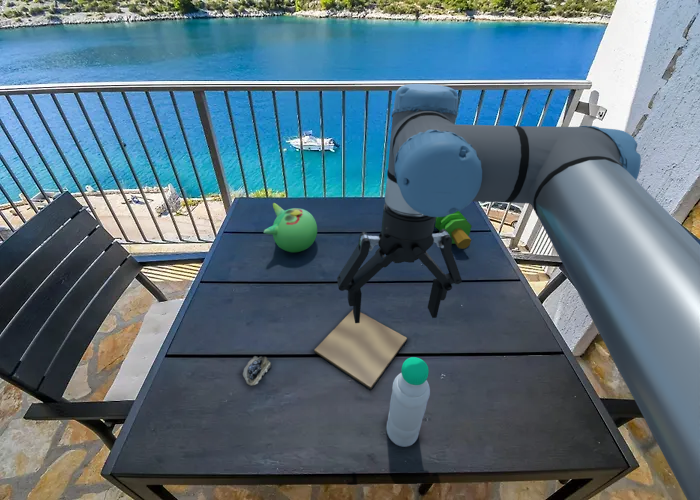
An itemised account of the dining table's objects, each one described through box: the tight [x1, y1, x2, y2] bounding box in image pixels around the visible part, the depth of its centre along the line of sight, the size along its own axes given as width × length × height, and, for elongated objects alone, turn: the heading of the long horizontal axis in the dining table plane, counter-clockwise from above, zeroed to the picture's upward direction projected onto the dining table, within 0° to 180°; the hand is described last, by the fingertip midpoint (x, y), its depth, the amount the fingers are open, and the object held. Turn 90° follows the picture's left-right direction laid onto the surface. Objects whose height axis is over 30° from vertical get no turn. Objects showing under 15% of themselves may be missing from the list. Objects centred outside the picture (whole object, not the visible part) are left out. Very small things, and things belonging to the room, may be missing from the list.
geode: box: [242, 355, 272, 387], centre depth 88 cm, size 7×8×2 cm
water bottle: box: [386, 356, 431, 448], centre depth 69 cm, size 7×7×25 cm
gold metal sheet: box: [313, 309, 408, 390], centre depth 94 cm, size 18×18×1 cm
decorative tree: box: [434, 211, 472, 250], centre depth 133 cm, size 11×12×30 cm
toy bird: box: [263, 202, 318, 253], centre depth 124 cm, size 18×17×15 cm
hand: (394, 315), depth 61 cm, fingers open, 13 cm apart
